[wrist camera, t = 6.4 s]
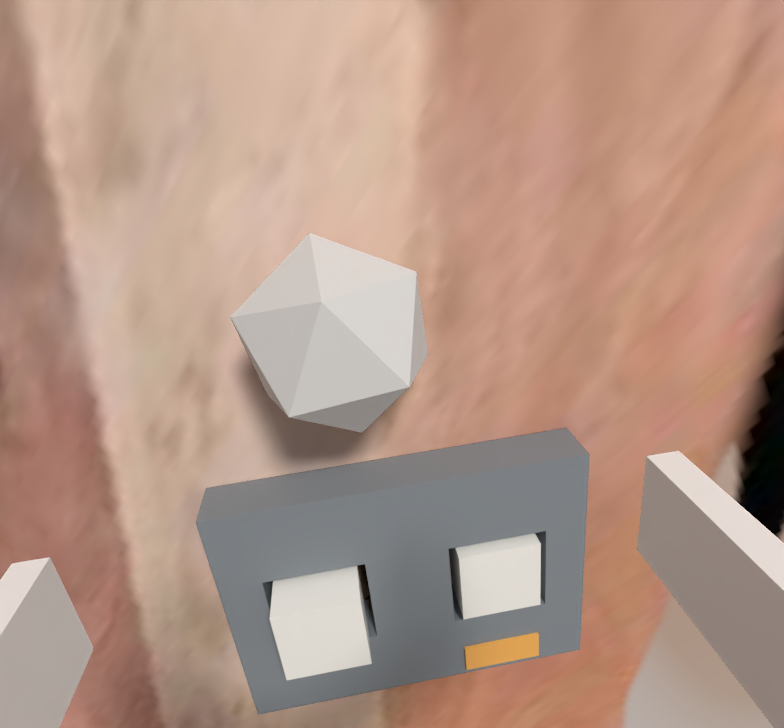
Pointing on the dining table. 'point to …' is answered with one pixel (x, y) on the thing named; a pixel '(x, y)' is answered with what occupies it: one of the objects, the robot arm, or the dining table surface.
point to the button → (320, 622)
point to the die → (334, 334)
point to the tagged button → (497, 575)
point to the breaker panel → (403, 558)
